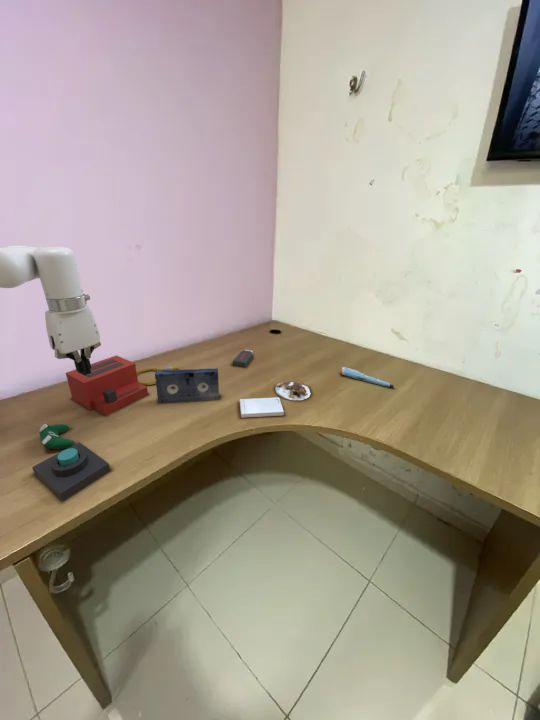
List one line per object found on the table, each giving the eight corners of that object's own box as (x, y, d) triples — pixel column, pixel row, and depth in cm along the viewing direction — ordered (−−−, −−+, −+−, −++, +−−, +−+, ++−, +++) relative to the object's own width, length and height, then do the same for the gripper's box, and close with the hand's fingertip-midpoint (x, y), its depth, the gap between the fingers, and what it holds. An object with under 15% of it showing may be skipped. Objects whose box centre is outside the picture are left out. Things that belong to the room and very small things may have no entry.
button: (56, 461, 66) (54, 455, 65) (73, 452, 69) (71, 446, 68) (64, 469, 64) (62, 462, 63) (82, 459, 67) (80, 452, 66)
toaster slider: (104, 400, 88) (102, 391, 87) (112, 397, 90) (110, 388, 89) (109, 403, 87) (107, 394, 86) (117, 399, 89) (115, 390, 88)
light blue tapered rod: (339, 375, 115) (340, 368, 114) (342, 372, 118) (343, 365, 117) (393, 390, 107) (395, 383, 106) (395, 386, 109) (396, 379, 108)
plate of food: (318, 396, 101) (320, 386, 100) (287, 404, 96) (287, 393, 94) (300, 380, 110) (301, 371, 109) (270, 387, 105) (270, 377, 104)
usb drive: (232, 365, 119) (232, 359, 118) (242, 353, 130) (242, 347, 128) (245, 367, 118) (245, 361, 117) (254, 355, 128) (254, 349, 127)
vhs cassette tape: (219, 395, 99) (218, 367, 95) (219, 400, 97) (218, 372, 92) (159, 398, 96) (155, 369, 92) (157, 403, 94) (154, 374, 90)
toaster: (72, 399, 94) (65, 372, 90) (120, 379, 106) (116, 354, 102) (102, 417, 86) (96, 389, 82) (151, 393, 98) (147, 368, 95)
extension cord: (174, 386, 103) (173, 381, 102) (125, 386, 102) (124, 381, 101) (181, 369, 114) (180, 364, 113) (137, 369, 113) (136, 364, 112)
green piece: (59, 436, 81) (35, 430, 77) (69, 424, 81) (45, 417, 77) (66, 456, 75) (40, 450, 70) (76, 443, 75) (51, 436, 71)
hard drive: (279, 396, 97) (239, 398, 95) (284, 411, 90) (241, 413, 88) (278, 401, 98) (239, 402, 96) (283, 416, 90) (241, 418, 89)
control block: (34, 474, 67) (29, 460, 65) (81, 449, 75) (77, 435, 73) (62, 501, 61) (57, 486, 60) (110, 470, 69) (107, 457, 67)
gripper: (89, 295, 80) (104, 359, 87) (22, 307, 68) (46, 380, 76) (106, 299, 76) (120, 366, 84) (38, 313, 65) (61, 389, 72)
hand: (85, 372), depth 80 cm, fingers closed
